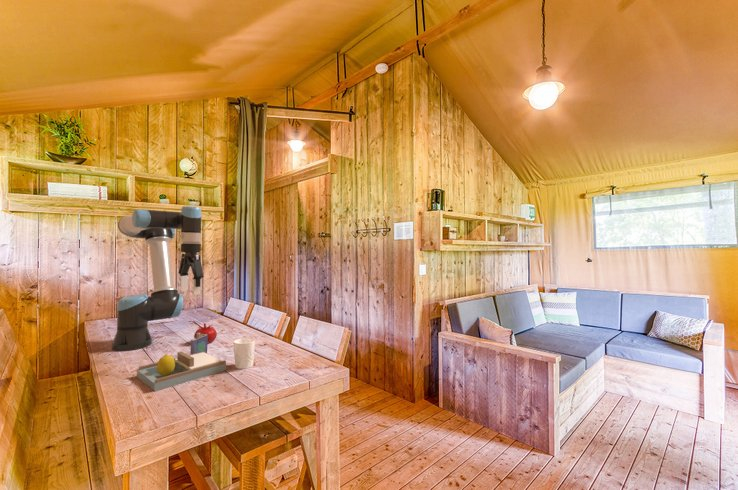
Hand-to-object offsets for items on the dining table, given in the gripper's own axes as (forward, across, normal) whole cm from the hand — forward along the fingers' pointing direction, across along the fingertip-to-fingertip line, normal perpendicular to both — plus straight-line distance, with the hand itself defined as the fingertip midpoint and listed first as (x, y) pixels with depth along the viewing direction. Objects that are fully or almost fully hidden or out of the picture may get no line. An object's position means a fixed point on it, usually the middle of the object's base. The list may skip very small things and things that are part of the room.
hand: (190, 292), depth 142 cm
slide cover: (+24, +18, -4) cm, 30 cm away
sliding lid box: (+27, +18, -9) cm, 34 cm away
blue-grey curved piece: (+27, +6, +2) cm, 28 cm away
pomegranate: (+28, -15, +13) cm, 34 cm away
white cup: (+27, +28, +10) cm, 40 cm away
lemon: (+27, +18, -15) cm, 36 cm away
